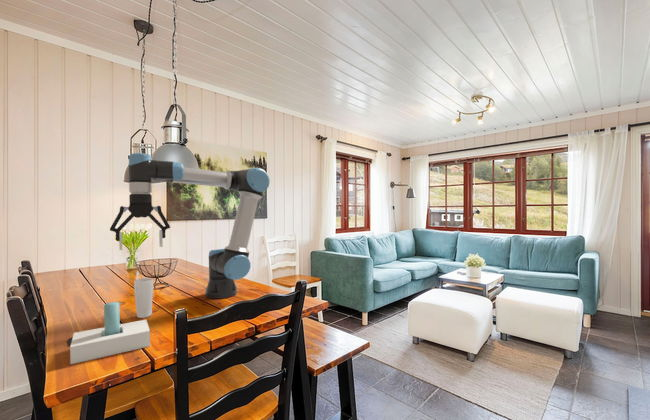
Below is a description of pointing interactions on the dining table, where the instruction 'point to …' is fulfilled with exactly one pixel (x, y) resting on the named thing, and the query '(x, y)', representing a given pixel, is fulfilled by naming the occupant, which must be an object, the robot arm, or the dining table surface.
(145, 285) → the drinking glass
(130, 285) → the dining table surface
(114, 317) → the teal peg
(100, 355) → the socket block
